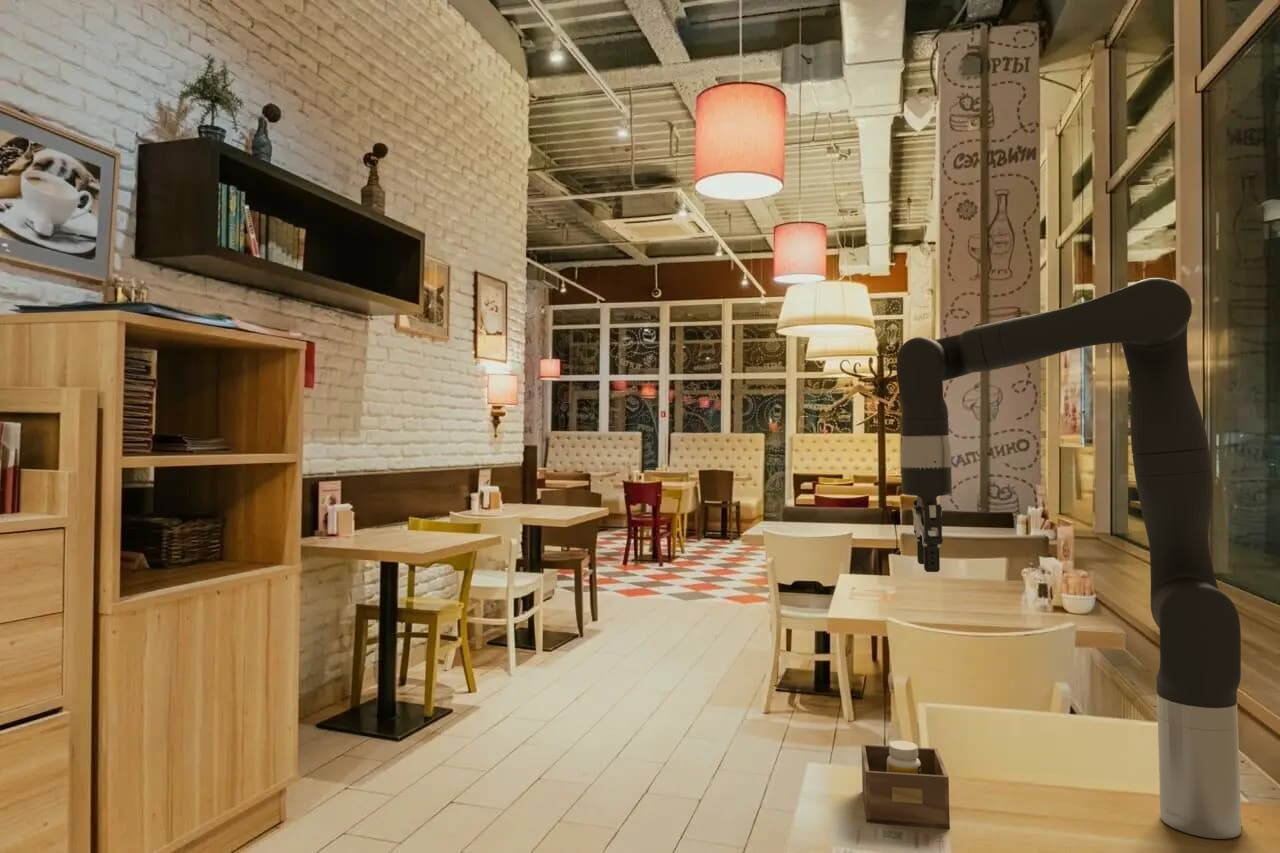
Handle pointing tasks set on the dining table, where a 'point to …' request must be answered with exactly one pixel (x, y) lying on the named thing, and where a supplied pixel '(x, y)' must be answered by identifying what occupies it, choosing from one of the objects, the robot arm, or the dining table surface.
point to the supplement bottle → (903, 758)
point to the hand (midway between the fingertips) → (928, 567)
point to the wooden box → (905, 790)
